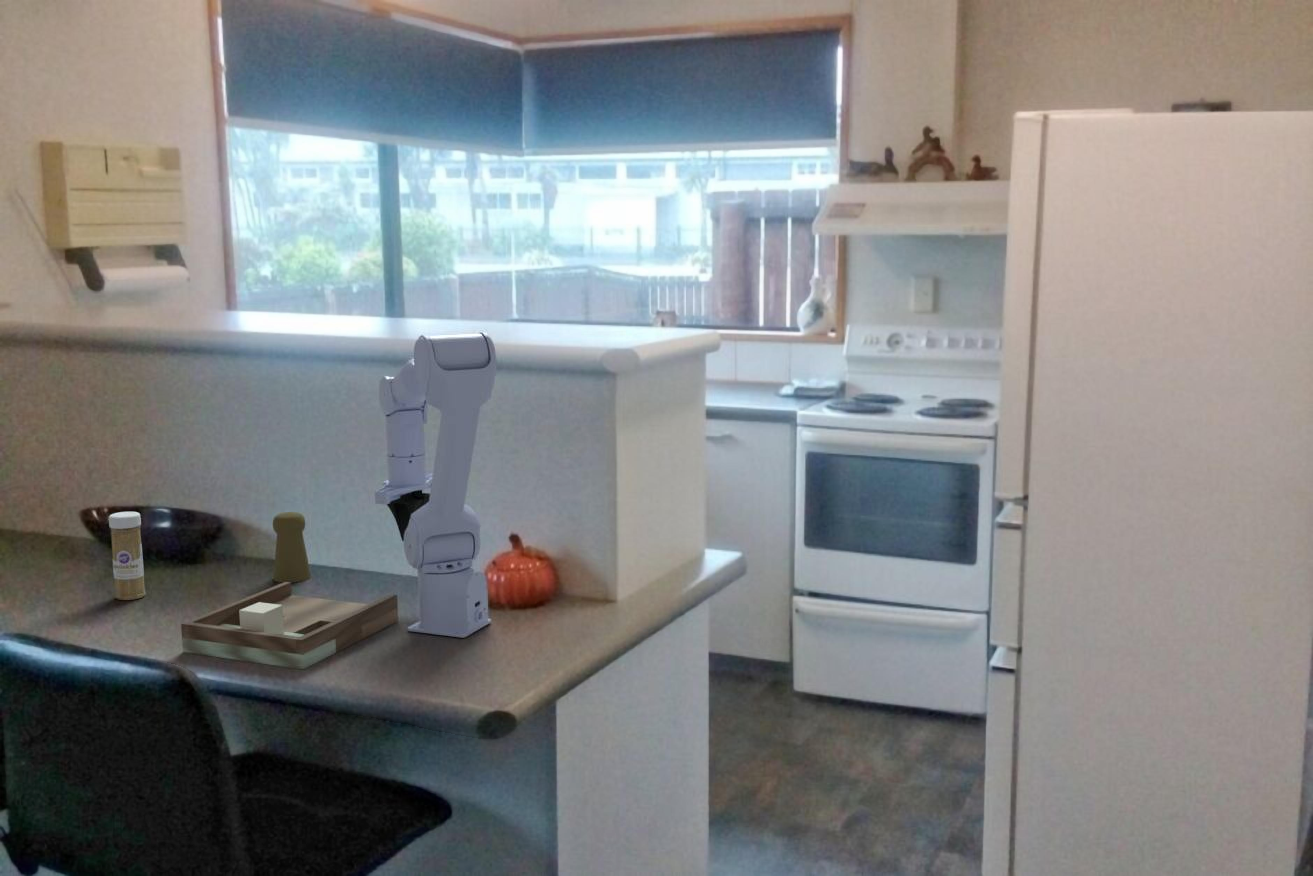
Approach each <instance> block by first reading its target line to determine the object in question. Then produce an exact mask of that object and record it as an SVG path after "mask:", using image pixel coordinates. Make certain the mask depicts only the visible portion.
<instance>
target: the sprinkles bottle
mask: <svg viewBox="0 0 1313 876" xmlns="http://www.w3.org/2000/svg"><path fill="white" fill-rule="evenodd" d="M141 520H142V518H141V514H140V513H139V512H137V511H120V512H114V513H112V514H110V515H109V517H108V525H109V526H108V527H109V528H110V535H111V549H112V551H111V553H112V572H113V579H114V589H115V594H114V598H115V599H117V600H119V601H120V600H121V601H133V600H137V599H138V600H139V599H140V598H141V599H142V598H143V597H144V596H146V593H147V592H146V590H145V577H144V575H145V570H144V568H145V567H144V559H143V546H142V545H143V544H142V537H141V525H142V521H141Z"/></svg>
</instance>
